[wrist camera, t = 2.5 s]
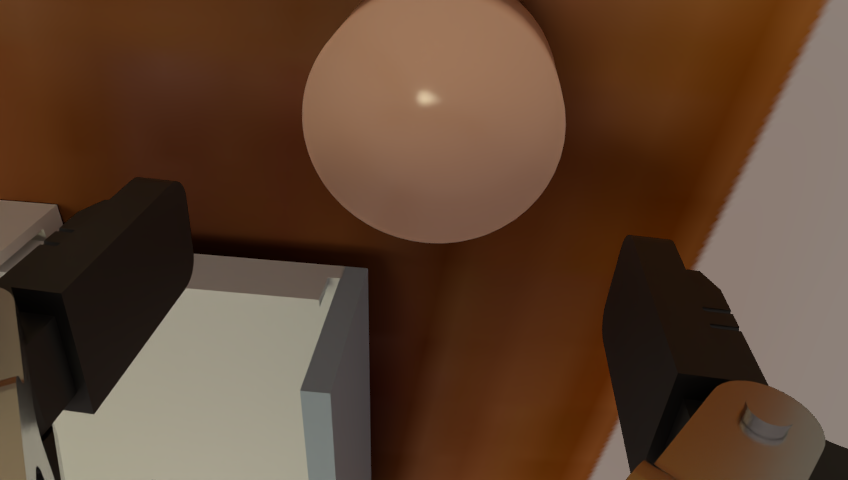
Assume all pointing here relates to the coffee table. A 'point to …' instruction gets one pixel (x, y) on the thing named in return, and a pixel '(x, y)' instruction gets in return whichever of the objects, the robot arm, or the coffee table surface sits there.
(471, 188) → the tan dome knob
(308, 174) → the coffee table surface
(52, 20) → the coffee table surface
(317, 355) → the tray
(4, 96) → the coffee table surface
